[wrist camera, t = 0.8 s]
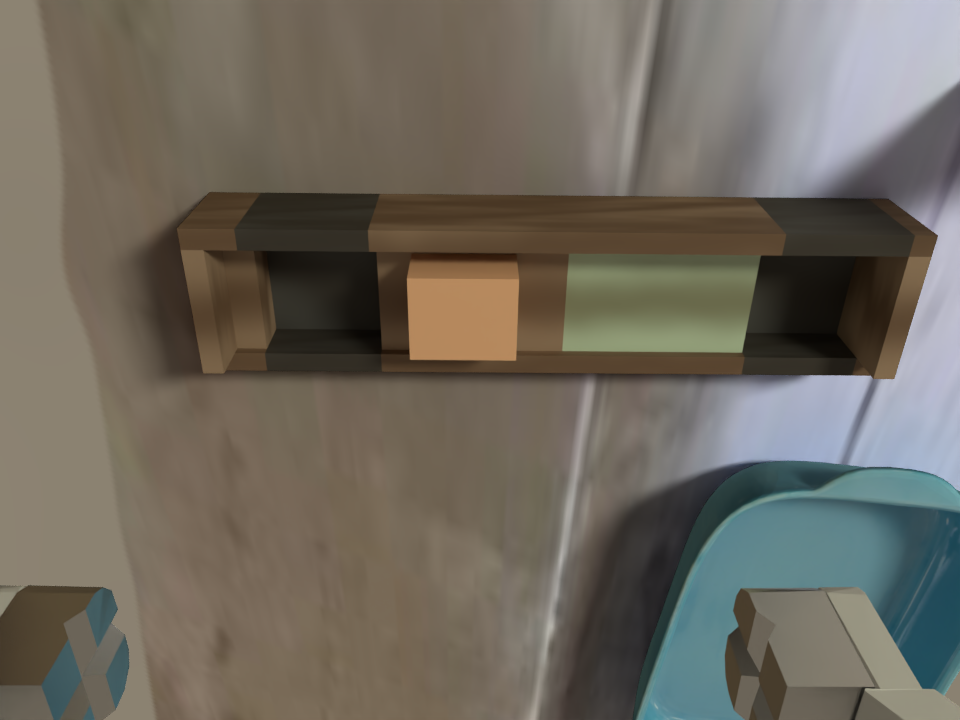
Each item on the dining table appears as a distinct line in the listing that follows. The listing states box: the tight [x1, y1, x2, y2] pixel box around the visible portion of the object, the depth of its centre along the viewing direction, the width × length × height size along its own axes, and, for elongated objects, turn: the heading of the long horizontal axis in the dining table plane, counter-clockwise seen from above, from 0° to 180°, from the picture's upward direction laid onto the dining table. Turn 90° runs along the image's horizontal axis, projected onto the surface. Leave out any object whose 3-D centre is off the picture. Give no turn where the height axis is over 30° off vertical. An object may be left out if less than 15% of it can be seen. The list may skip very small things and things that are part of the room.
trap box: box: [177, 192, 938, 379], centre depth 48 cm, size 10×40×6 cm, turn 90°
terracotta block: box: [407, 253, 519, 361], centre depth 46 cm, size 5×6×4 cm
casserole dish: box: [633, 461, 960, 720], centre depth 62 cm, size 37×22×7 cm, turn 173°
